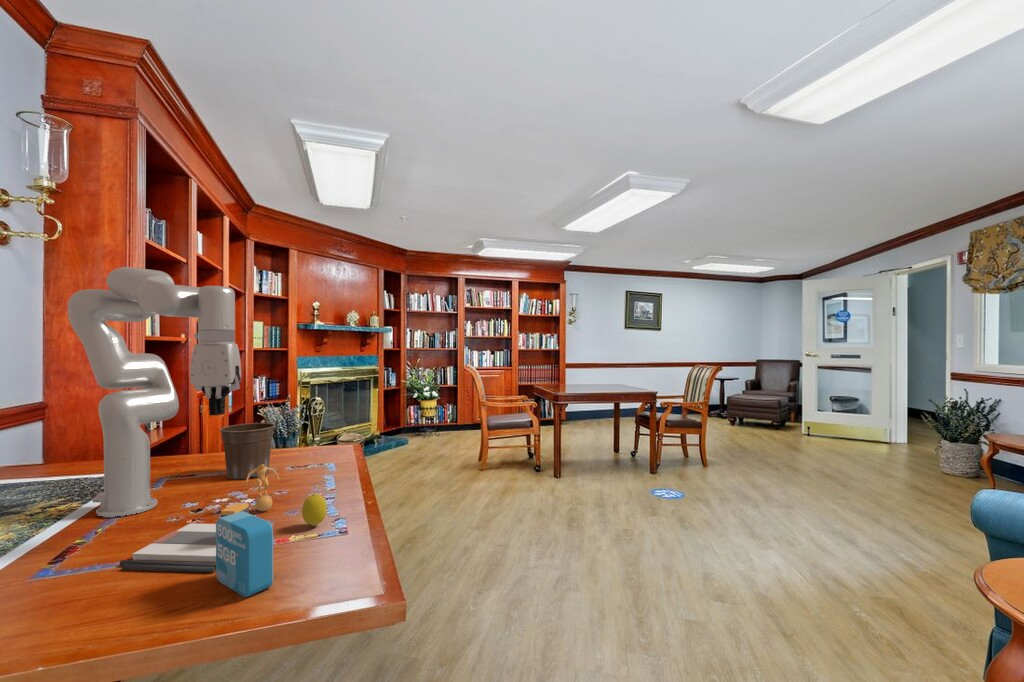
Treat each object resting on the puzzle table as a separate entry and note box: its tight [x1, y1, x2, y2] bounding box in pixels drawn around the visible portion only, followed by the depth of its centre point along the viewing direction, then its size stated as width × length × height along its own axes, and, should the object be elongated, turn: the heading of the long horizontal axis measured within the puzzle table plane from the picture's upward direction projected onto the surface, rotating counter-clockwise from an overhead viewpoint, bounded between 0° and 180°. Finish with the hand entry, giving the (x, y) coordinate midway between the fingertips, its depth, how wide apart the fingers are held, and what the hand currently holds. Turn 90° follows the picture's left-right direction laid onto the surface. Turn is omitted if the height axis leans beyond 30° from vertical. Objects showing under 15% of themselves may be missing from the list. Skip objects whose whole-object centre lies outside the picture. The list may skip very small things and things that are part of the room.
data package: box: [215, 511, 274, 598], centre depth 87 cm, size 12×4×12 cm, turn 55°
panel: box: [132, 522, 216, 563], centre depth 104 cm, size 20×16×1 cm
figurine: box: [244, 464, 280, 512], centre depth 125 cm, size 8×6×12 cm
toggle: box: [220, 502, 250, 518], centre depth 104 cm, size 3×5×7 cm, turn 176°
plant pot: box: [219, 422, 276, 481], centre depth 158 cm, size 16×16×16 cm
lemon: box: [301, 492, 328, 527], centre depth 114 cm, size 6×6×8 cm
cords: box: [119, 559, 216, 574], centre depth 93 cm, size 20×3×1 cm, turn 86°
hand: (217, 414), depth 113 cm, fingers closed
